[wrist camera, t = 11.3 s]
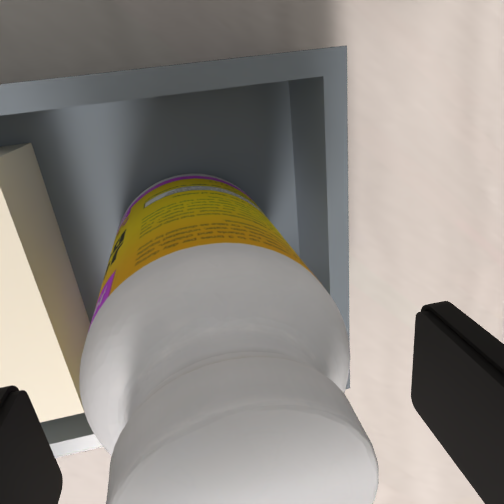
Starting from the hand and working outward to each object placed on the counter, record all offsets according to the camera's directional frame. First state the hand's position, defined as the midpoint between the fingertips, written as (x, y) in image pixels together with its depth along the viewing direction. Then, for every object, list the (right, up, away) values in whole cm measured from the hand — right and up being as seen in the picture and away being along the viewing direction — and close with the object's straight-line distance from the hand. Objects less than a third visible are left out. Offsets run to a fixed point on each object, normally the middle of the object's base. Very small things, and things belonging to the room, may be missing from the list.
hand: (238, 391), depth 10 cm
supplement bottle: (-2, +4, +9) cm, 10 cm away
